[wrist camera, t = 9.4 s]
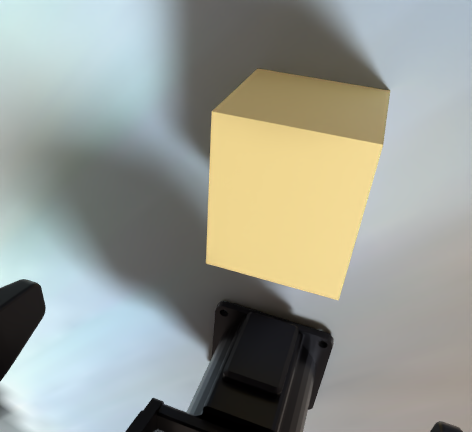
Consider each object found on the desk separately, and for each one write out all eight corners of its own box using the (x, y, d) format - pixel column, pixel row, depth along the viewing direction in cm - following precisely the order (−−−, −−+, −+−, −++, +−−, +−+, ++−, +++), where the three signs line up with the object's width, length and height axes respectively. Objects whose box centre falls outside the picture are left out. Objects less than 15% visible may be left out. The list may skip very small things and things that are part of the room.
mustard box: (353, 223, 19) (338, 300, 15) (245, 197, 20) (205, 263, 16) (390, 89, 16) (383, 144, 12) (258, 67, 17) (211, 111, 13)
